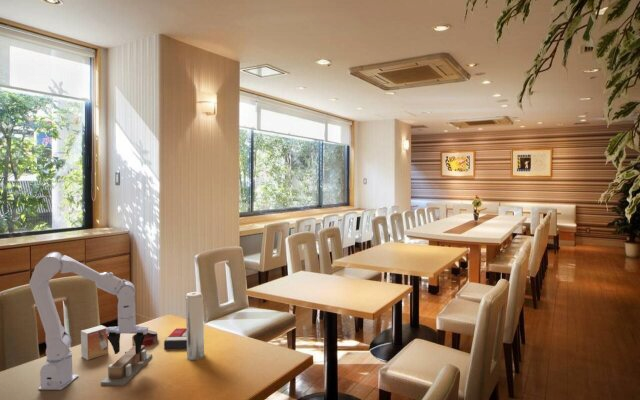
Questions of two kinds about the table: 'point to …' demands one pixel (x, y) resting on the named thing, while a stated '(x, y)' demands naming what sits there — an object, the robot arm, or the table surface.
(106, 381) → the base plate
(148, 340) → the canned food
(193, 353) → the paper towel roll
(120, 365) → the banded tan post
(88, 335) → the small box
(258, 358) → the table surface
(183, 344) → the black and red box
